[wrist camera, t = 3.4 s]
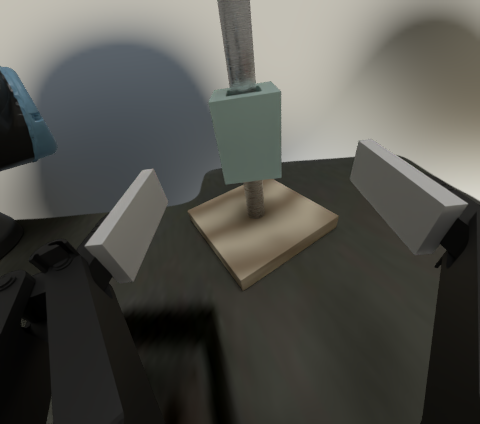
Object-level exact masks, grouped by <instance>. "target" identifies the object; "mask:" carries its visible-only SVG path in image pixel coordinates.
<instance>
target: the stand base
mask: <svg viewBox="0 0 480 424" xmlns="http://www.w3.org/2000/svg"><path fill="white" fill-rule="evenodd" d="M263 193H264V207H265V214H264V216H263V217H261V218H259V219H252V218H250V217H249V216H248V213H247V205H246V198H245V191H244V185H242V186H240V187H238V188H236V189H233V190H231V191H229V192H227V193H225V194H223V195H220V196H218V197H216V198H214V199H212V200H210V201H208V202H205V203H203V204H201V205H199V206H197V207H195V208H192V209H190V210H188V213H189V216H190V219H191V221H192V222H193V224H194V225H195V226H196V228H197V229H198V230H199V232H200V233H201V234H202V236H203V237H204V238H205V240H206V241H207V243H208V244H209V245H210V247H211V248H212V249H213V251H214V252H215V253H216V255H217V256H218V258H219V259H220V260H221V262H222V263H223V264H224V266H225V267H226V268H227V270H228V271H229V272H230V274H231V275H232V277H233V278H234V279H235V281H236V282H237V283H238V285H239V286H240V287H241V289H242V290H243V291H244V290H245V289H247V288H248V287H250V286H251V285H253V284H254V283H256V282H257V281H259V280H260V279H261V278H263V277H264V276H266V275H267V274H269V273H270V272H272V271H273V270H275V269H276V268H278V267H279V266H280V265H282V264H283V263H285V262H286V261H288V260H289V259H291V258H292V257H294V256H295V255H296V254H298V253H299V252H301V251H302V250H304V249H305V248H307V247H308V246H310V245H311V244H313V243H314V242H315V241H317V240H318V239H320V238H321V237H323V236H324V235H326V234H327V233H329V232H330V231H331V230H333V229H334V228H336V226H337V221H338V217H339V216H338V215H336V214H334V213H332V212H331V211H329V210H327V209H325V208H323V207H322V206H320V205H318V204H316V203H315V202H313V201H311V200H309V199H307V198H306V197H304V196H302V195H300V194H298V193H297V192H295V191H293V190H291V189H290V188H288V187H286V186H284V185H282V184H281V183H279V182H277V181H275V180H273V179H266V180H263Z"/></svg>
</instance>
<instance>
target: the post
mask: <svg viewBox="0 0 480 424" xmlns="http://www.w3.org/2000/svg"><path fill="white" fill-rule="evenodd" d="M217 1H218V8H219V15H220V22H221V29H222V35H223V43H224V50H225V57H226V64H227V71H228V79H229V85H230V93H231V96H233V95H240V94H246V93H253V92H256V81H255V68H254V54H253V41H252V25H251V11H250V0H217ZM243 184H244V191H245V198H246V205H247V213H248V216H249V217H250V218H252V219H259V218H261V217H263V216H264V214H265V207H264V193H263V180H258V181H250V182H243Z"/></svg>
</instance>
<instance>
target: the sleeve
mask: <svg viewBox="0 0 480 424" xmlns="http://www.w3.org/2000/svg"><path fill="white" fill-rule="evenodd" d="M209 108H210V113H211V117H212V122H213V127H214V132H215V136H216V141H217V146H218V151H219V155H220V160H221V166H222V170H223V175H224V180H225V184H234V183H242V182H250V181H258V180H266V179H274V178H281V91H280V90H279V89H278V88H277V87H276V86H275V85H274V84H273V83H272V82H271V81H270V82H264V83H258V84H256V92H253V93H246V94H240V95H233V96H231V93H230V88H226V89H220V90H214V92H213V94H212V96H211V98H210V100H209Z"/></svg>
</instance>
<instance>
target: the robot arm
mask: <svg viewBox="0 0 480 424" xmlns="http://www.w3.org/2000/svg"><path fill="white" fill-rule="evenodd" d="M57 148H58V145H57V142H56V140H55V139H54V137H53V135H52V133H51V132H50V130H49V128H48V126H47V125H46V123H45V121H44V120H43V118H42V116H41V115H40V113H39V111H38V109H37V108H36V106H35V104H34V103H33V101H32V99H31V97H30V95H29V94H28V92H27V90H26V89H25V87H24V85H23V83H22V82H21V80H20V78H19V77H18V75H17V73H16V72H15V71H14V70H13V69H11V68H8V67H1V66H0V171H3V170H6V169H10V168H13V167H17V166H20V165H24V164H27V163H31V162H36V161H37V160H38V159H40V158H43V157H46V156H49V155H52V154H53V153H55V152H56V150H57ZM350 181H351V182H352V183H353V184H354V185H355V186H356V188H357V189H358V190H359V191H360V192H361V193H362V195H363V196H364V197H365V198H366V199H367V200H368V202H369V203H370V204H371V205H372V206H373V207H374V208H375V210H376V211H377V212H378V213H379V214H380V215H381V217H382V218H383V219H384V220H385V221H386V222H387V224H388V225H389V226H390V227H391V228H392V229H393V230H394V232H395V233H396V234H397V235H398V236H399V237H400V239H401V240H402V241H403V242H404V243H405V244H406V246H407V247H408V248H409V249H410V250H411V251H412V253H413V254H414V255H422V254H433V253H434V252H435V250H436V249H437V247H438V246H439V245H440V244H441V245H442V246H443V247H444V248H445V249H446V252H445V253H444V254H443V256H442V257H441V258H440V260H439V261H438V262H437V263H436V265H435V268H438V267H439V266H440V265H441V273H440V281H439V289H438V297H437V305H436V313H435V321H434V329H433V337H432V345H431V353H430V361H429V369H428V377H427V385H426V393H425V401H424V409H423V416H422V420H421V423H420V424H480V205H478V204H477V203H475V202H474V201H472V200H471V199H469V198H468V197H466V196H464V195H463V194H461V193H460V192H458V191H457V190H454V188H452V187H451V186H449V185H446V183H444V182H443V181H441V180H440V179H438V178H436V177H433V176H431V175H428V174H425V173H422V172H420V171H419V170H417V169H416V168H414V167H413V166H411V165H410V164H408V163H407V162H405V161H404V160H402V159H401V158H399V157H398V156H396V155H395V154H393V153H392V152H390V151H389V150H387V149H386V148H384V147H383V146H381V145H380V144H379V143H377V142H375V141H374V140H372V139H368V140H360V141H359V142H358V146H357V150H356V155H355V159H354V163H353V168H352V172H351V176H350ZM167 204H168V200H167V198H166V196H165V194H164V191H163V189H162V187H161V185H160V182H159V180H158V178H157V176H156V173H155V171H154V169H148V170H142V172H141V173H140V174H139V175H138V177H137V178H136V179H135V181H134V182H133V183H132V185H131V186H130V187H129V188H128V190H127V191H126V192H125V194H124V195H123V196H122V198H121V199H120V200H119V202H118V203H117V204H116V205H115V207H114V208H113V209H112V211H111V212H110V213H108V214H106V215H105V216H104V217H103V218H101V219H100V220H99V222H98V223H97V224H96V225H95V227H94V228H93V229H92V231H91V233H89V234H88V236H87V237H86V238H85V239H84V241H83V242H82V243H81V244H80V246H79V247H78V248H77V250H76V249H75V248H74V247H73V246H72V245H71V244H70V243H69V242H68V241H67V240H66V239H57V240H53V241H51V242H48V243H47V244H45V245H43V246H41V247H40V248H39V249H37V250H36V251H35V252H34V253H33V254H32V255H31V256H30V259H29V262H30V263H32V264H33V265H34V266H35V267H37V268H38V269H39V270H40V271H42V272H41V273H38V274H35V275H32V276H31V275H30V274H28V273H27V272H26V271H24V270H16V271H12V272H10V273H8V274H5V275H3V276H2V277H1V278H0V424H46V421H47V416H48V410H49V405H50V400H51V394H52V410H53V424H165V422H164V419H163V417H162V414H161V411H160V409H159V406H158V404H157V401H156V399H155V396H154V393H153V391H152V388H151V386H150V383H149V380H148V378H147V375H146V373H145V370H144V368H143V365H142V362H141V360H140V357H139V355H138V352H137V350H136V347H135V344H134V342H133V339H132V337H131V334H130V331H129V329H128V326H127V324H126V321H125V319H124V316H123V313H122V311H121V308H120V306H119V303H118V301H117V298H116V295H115V293H114V290H113V288H112V286H111V285H110V284H109V281H110V280H111V278H112V277H113V278H114V279H115V280H116V281H117V282H118V283H126V282H134V279H135V277H136V275H137V272H138V270H139V268H140V266H141V263H142V261H143V259H144V257H145V254H146V252H147V250H148V247H149V245H150V243H151V241H152V238H153V236H154V234H155V231H156V229H157V227H158V225H159V222H160V220H161V218H162V215H163V213H164V211H165V209H166V206H167ZM22 234H23V228H22V226H21V225H19V224H18V223H17V222H16V221H15V220H14V219H12V218H11V217H9V216H7V215H5V214H3V213H1V212H0V258H1V257H3V256H4V255H5V254H6V253H7V252H8V251H10V250H11V249H12V248H13V247H14V246H15V245H16V243H17V242H18V241H19V239H20V238H21V236H22ZM21 318H22V319H24V320H26V321H27V322H26V325H25V327H21Z"/></svg>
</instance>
